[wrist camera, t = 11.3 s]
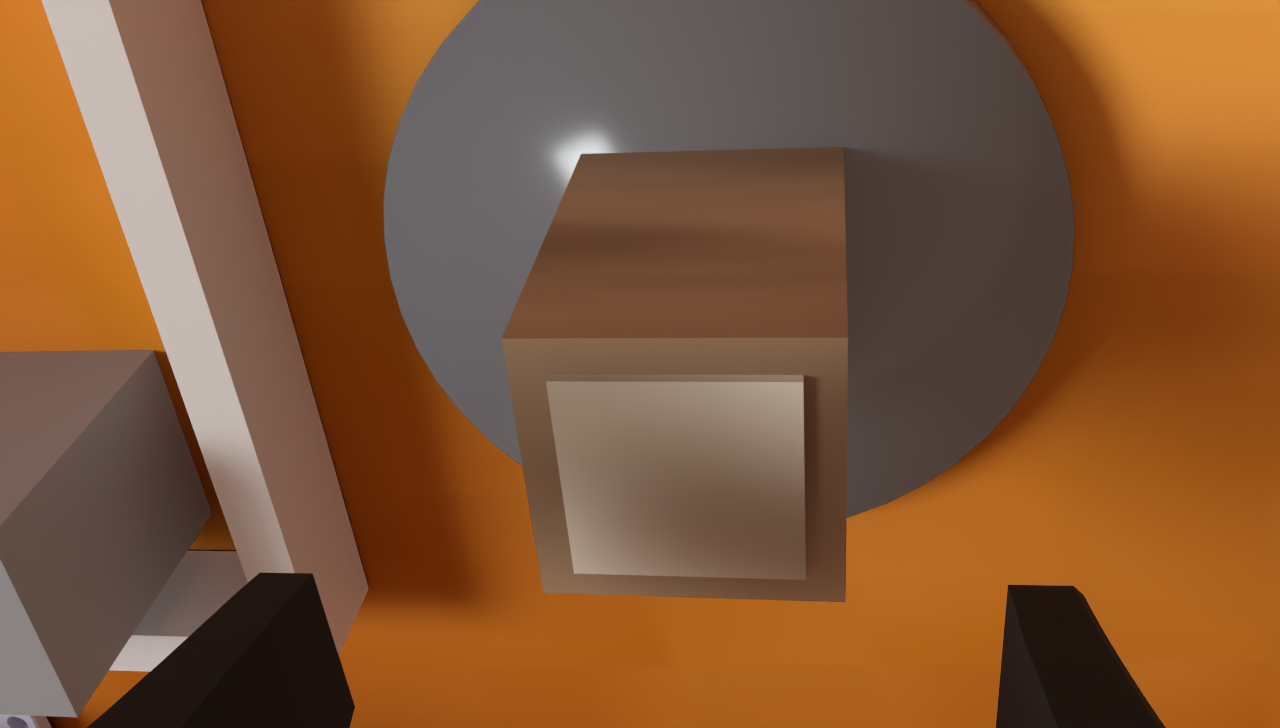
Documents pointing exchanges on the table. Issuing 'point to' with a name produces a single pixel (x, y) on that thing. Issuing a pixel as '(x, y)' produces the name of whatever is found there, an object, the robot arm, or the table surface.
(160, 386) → the plain grey box
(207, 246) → the white rectangular frame
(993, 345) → the slate pad
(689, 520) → the labelled walnut box
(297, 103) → the table surface
